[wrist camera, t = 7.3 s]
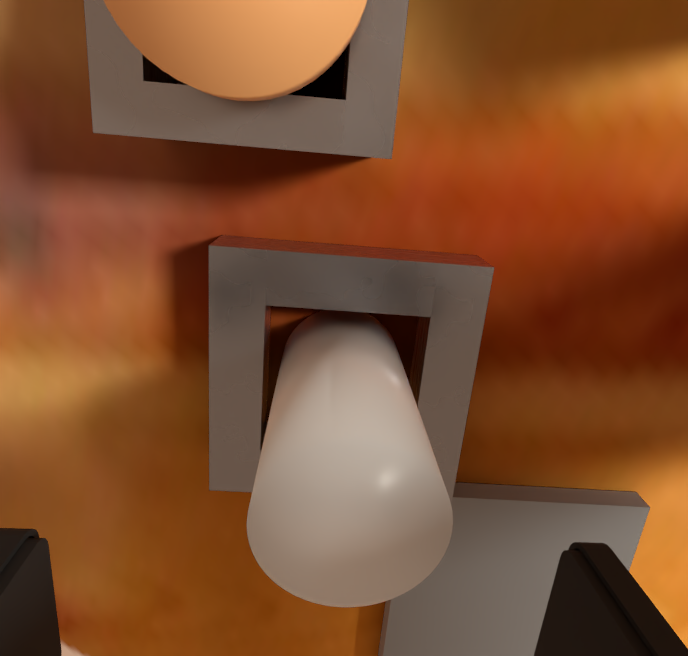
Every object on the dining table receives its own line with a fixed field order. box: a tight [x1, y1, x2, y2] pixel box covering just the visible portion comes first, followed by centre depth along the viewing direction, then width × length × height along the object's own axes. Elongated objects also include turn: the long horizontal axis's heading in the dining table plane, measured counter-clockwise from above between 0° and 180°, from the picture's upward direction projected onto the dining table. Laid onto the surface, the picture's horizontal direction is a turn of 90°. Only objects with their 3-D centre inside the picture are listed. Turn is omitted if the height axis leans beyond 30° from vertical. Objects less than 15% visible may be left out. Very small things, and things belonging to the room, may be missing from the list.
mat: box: [378, 482, 650, 656], centre depth 23 cm, size 10×10×1 cm
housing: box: [84, 0, 409, 159], centre depth 13 cm, size 7×7×5 cm
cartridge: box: [247, 310, 453, 607], centre depth 15 cm, size 4×4×9 cm
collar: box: [209, 235, 494, 503], centre depth 18 cm, size 9×9×2 cm
